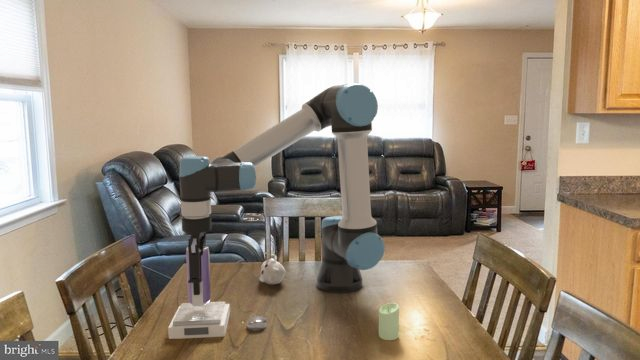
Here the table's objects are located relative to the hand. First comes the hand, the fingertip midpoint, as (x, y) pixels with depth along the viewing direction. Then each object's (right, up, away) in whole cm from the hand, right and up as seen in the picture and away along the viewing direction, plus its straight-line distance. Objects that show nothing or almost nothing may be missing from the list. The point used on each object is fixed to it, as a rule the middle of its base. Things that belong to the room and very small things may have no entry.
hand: (200, 300), depth 129 cm
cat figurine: (+16, -3, +34) cm, 38 cm away
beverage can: (0, -1, 0) cm, 1 cm away
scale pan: (0, -4, +1) cm, 4 cm away
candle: (+50, -8, -6) cm, 51 cm away
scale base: (0, -7, +1) cm, 7 cm away
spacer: (+15, -7, 0) cm, 17 cm away
